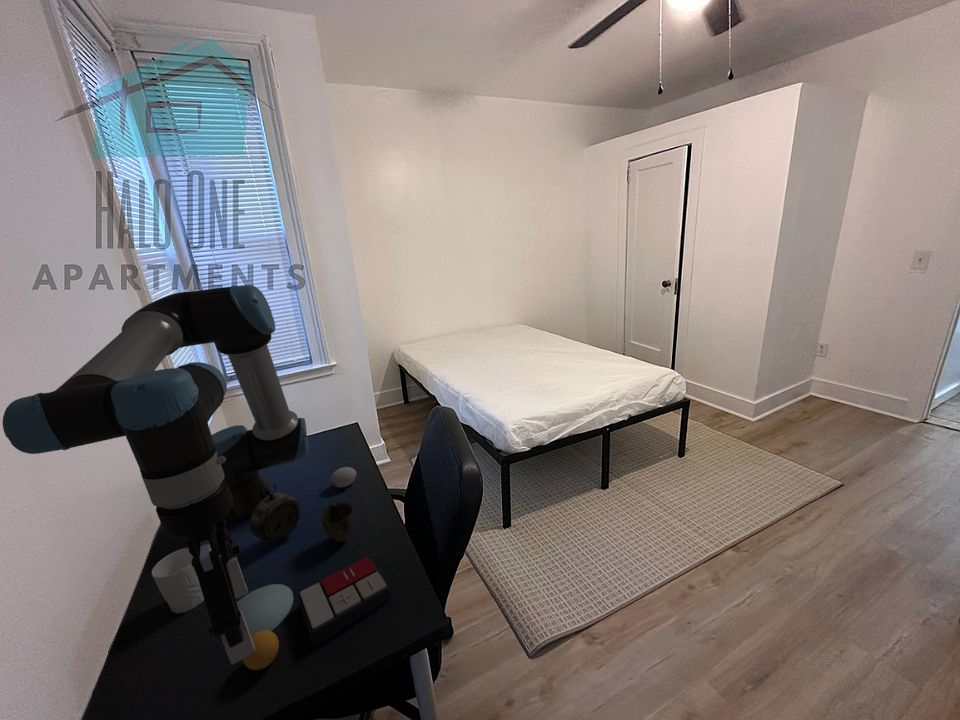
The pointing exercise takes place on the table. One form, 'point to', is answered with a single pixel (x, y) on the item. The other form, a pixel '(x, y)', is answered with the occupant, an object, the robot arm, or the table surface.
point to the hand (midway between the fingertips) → (240, 623)
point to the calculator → (342, 599)
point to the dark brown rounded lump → (338, 521)
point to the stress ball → (343, 477)
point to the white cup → (178, 581)
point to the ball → (262, 650)
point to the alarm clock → (275, 517)
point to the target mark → (266, 607)
